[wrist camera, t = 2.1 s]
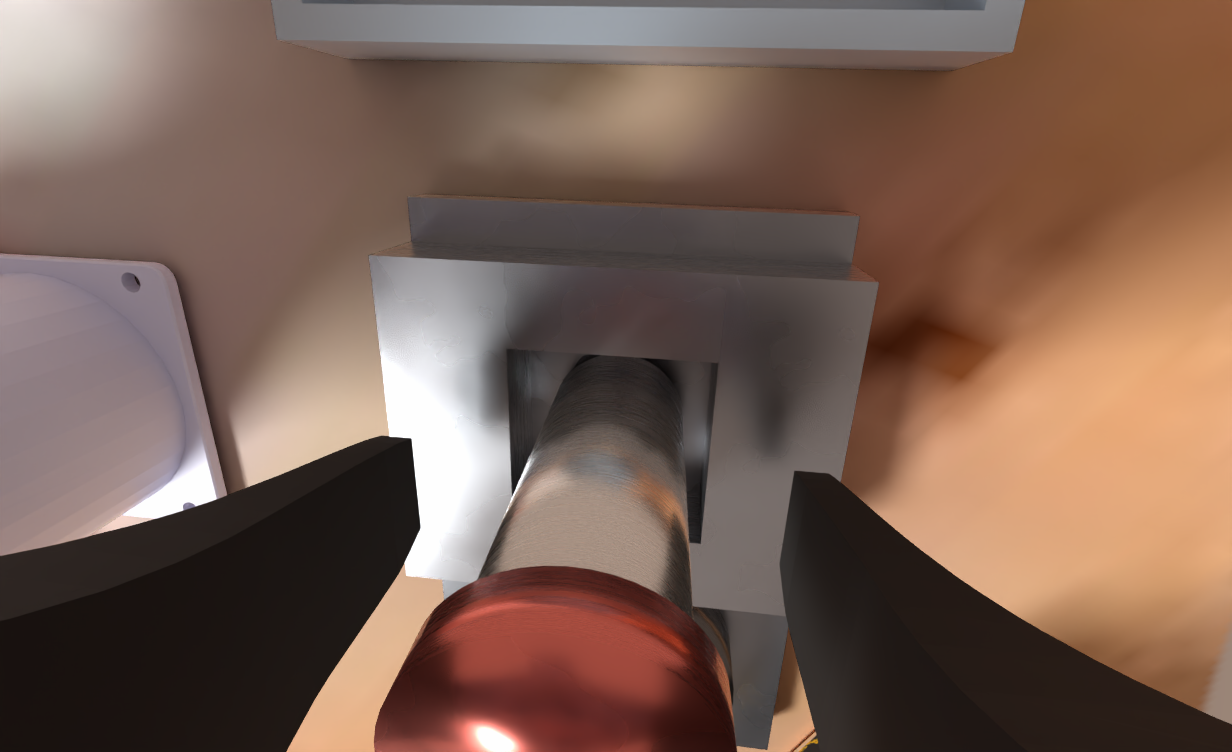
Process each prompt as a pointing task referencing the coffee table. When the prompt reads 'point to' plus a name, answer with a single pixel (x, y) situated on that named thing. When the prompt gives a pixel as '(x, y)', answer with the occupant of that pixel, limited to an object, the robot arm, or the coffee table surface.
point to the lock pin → (577, 597)
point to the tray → (660, 31)
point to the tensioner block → (630, 327)
